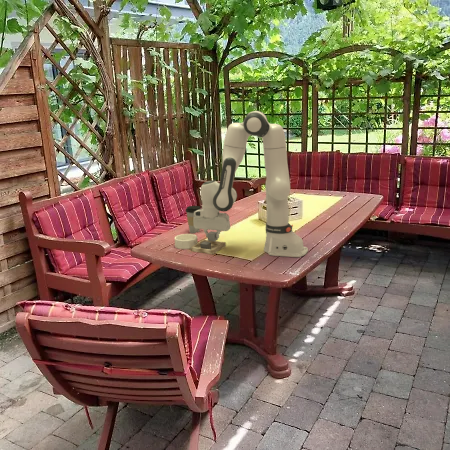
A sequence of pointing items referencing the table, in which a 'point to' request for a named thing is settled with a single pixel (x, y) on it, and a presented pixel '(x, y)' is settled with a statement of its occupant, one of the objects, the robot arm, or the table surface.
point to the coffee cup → (190, 217)
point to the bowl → (185, 241)
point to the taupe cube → (212, 236)
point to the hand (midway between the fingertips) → (212, 237)
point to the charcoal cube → (206, 245)
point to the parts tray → (214, 248)
